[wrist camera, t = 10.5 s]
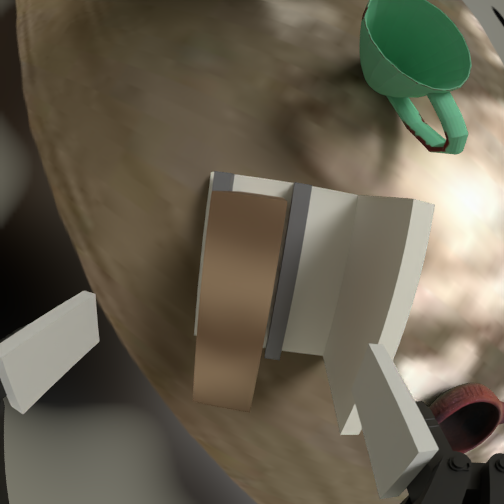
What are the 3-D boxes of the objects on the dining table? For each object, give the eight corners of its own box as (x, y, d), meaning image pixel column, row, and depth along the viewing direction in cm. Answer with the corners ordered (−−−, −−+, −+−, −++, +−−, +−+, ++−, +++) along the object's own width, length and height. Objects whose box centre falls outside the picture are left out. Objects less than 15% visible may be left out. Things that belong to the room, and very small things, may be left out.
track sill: (214, 172, 28) (163, 158, 15) (373, 198, 27) (441, 206, 14) (196, 330, 31) (153, 405, 19) (338, 351, 31) (364, 434, 18)
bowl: (417, 445, 33) (431, 479, 25) (402, 402, 32) (421, 441, 24) (495, 393, 30) (517, 420, 23) (493, 341, 29) (523, 367, 21)
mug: (325, 45, 24) (341, -7, 14) (400, 35, 23) (435, -8, 13) (378, 172, 26) (424, 165, 17) (450, 151, 25) (507, 142, 15)
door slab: (240, 191, 27) (211, 190, 15) (283, 197, 27) (287, 201, 15) (222, 328, 30) (192, 401, 18) (260, 334, 30) (249, 412, 18)
